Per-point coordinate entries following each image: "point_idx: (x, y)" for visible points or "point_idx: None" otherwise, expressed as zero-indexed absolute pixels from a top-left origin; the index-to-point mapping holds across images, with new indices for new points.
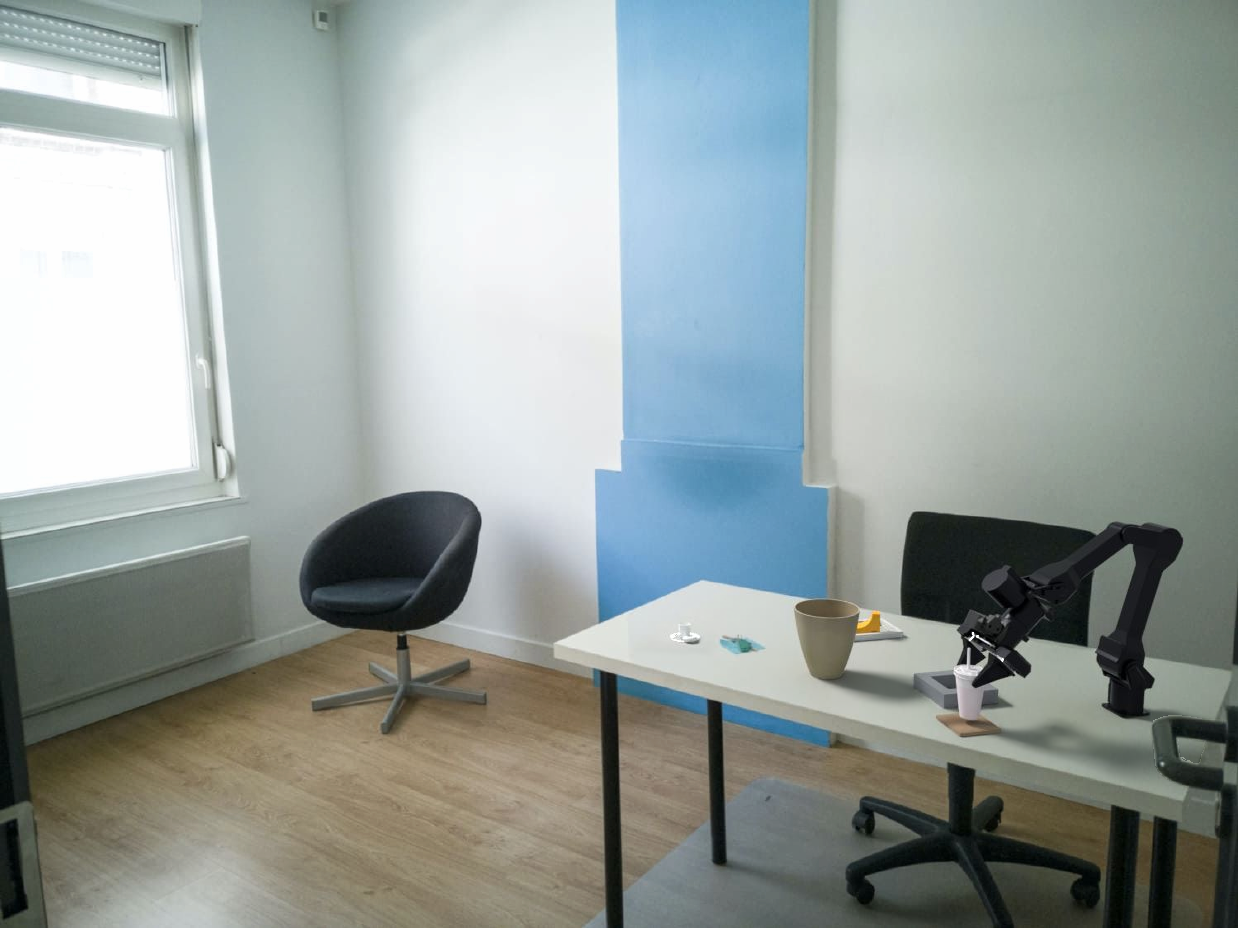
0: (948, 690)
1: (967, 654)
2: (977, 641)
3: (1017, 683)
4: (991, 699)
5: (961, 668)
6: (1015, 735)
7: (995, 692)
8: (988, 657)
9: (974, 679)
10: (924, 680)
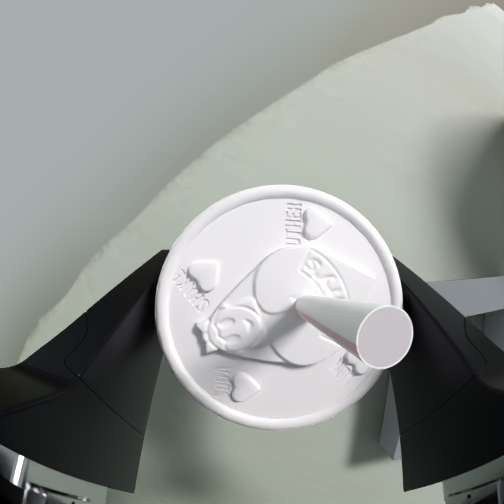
0: None
1: (349, 300)
2: (496, 502)
3: (433, 495)
4: (386, 431)
5: (328, 254)
6: (175, 381)
7: (391, 449)
8: (18, 400)
9: (160, 266)
10: (495, 278)
